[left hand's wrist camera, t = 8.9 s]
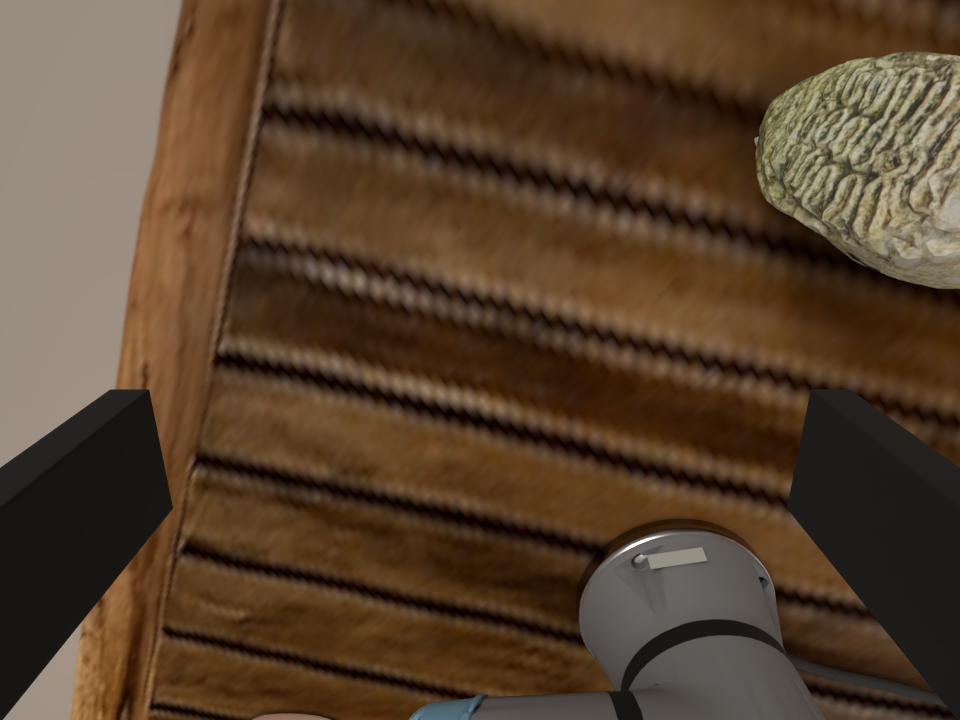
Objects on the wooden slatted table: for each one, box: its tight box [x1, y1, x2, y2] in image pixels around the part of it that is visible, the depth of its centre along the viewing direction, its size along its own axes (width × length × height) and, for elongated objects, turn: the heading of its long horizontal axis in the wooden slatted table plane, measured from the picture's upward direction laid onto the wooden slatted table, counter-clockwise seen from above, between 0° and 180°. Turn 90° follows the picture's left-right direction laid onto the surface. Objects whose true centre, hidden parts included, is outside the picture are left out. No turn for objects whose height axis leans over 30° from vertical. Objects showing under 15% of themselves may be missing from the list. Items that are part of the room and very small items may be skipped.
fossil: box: [755, 51, 960, 289], centre depth 32 cm, size 9×18×15 cm, turn 68°
